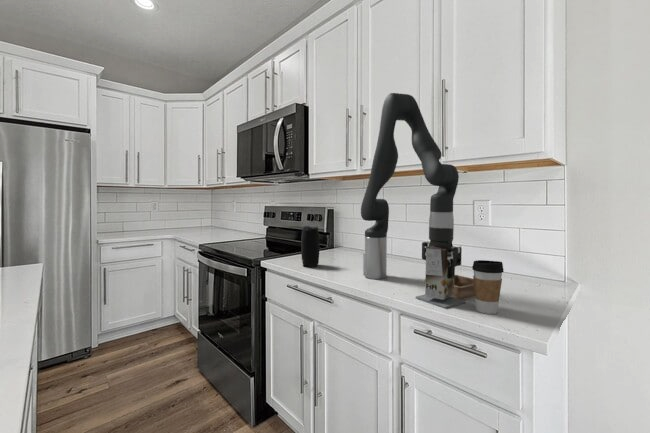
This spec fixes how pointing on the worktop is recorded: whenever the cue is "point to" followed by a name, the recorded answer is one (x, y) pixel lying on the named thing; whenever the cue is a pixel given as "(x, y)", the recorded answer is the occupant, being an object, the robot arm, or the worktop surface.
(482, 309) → the coffee cup
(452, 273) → the robot arm
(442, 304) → the slate mat
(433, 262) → the coffee box
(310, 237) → the portable speaker
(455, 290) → the walnut caddy
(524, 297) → the worktop surface
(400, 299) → the worktop surface
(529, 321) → the worktop surface
